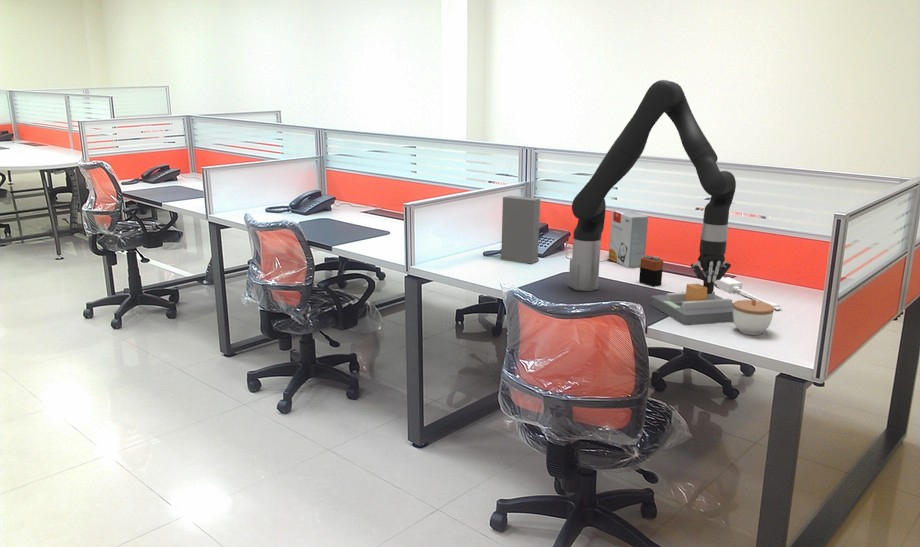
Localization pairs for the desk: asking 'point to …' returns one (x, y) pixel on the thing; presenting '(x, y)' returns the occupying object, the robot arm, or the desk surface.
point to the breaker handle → (696, 292)
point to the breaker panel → (693, 312)
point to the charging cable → (738, 289)
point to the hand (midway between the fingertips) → (707, 293)
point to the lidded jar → (752, 316)
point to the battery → (651, 270)
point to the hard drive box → (627, 237)
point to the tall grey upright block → (520, 229)
